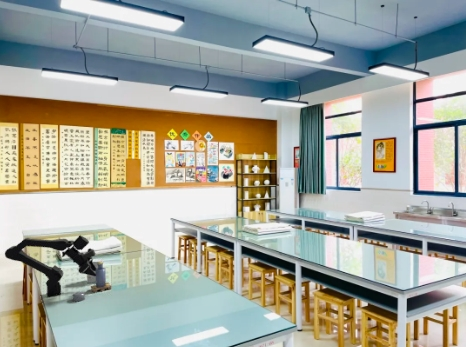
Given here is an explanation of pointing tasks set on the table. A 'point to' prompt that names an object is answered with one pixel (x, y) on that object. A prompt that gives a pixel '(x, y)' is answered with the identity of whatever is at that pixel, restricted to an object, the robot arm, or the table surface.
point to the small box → (93, 278)
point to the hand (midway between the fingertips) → (96, 273)
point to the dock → (100, 287)
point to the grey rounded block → (78, 296)
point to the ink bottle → (100, 275)
